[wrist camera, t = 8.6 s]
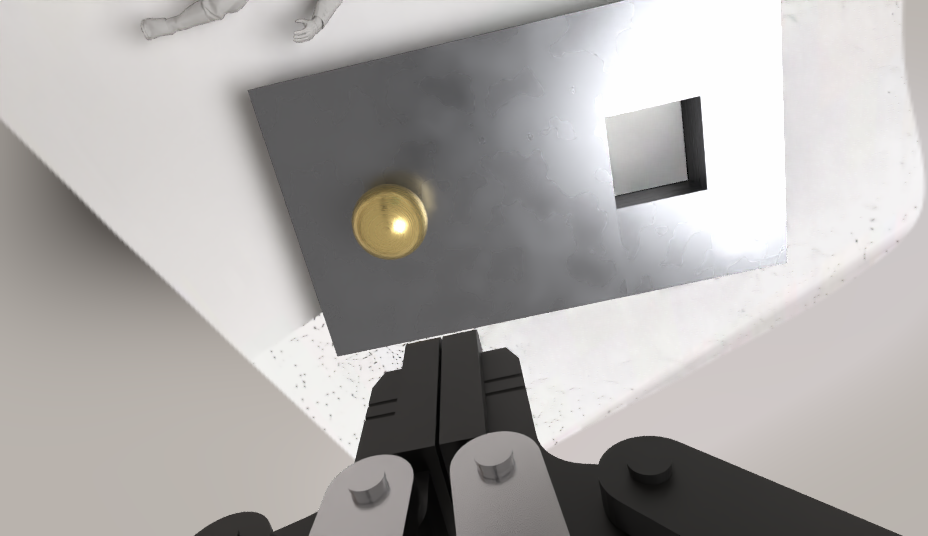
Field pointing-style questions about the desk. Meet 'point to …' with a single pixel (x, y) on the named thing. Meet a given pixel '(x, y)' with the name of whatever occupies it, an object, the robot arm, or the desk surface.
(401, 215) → the brass knob
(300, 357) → the desk surface
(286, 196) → the bore plate
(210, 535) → the robot arm
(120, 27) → the desk surface
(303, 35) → the soldier figure
